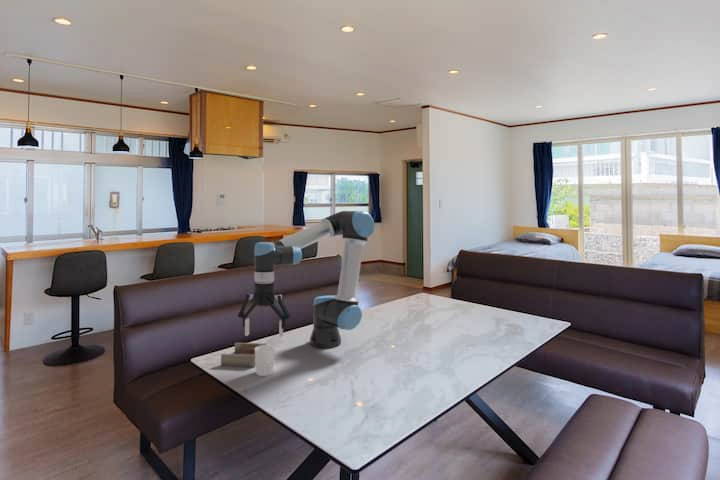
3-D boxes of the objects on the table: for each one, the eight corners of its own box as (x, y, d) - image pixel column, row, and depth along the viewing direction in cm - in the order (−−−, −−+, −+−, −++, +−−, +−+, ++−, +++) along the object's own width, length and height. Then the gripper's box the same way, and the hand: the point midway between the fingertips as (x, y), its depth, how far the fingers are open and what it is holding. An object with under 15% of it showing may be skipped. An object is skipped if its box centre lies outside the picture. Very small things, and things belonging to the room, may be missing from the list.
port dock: (266, 353, 182) (266, 343, 182) (254, 367, 166) (254, 356, 166) (235, 352, 183) (235, 342, 183) (221, 365, 168) (221, 355, 167)
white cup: (254, 377, 156) (254, 352, 155) (254, 369, 164) (254, 345, 163) (275, 375, 158) (275, 350, 158) (274, 368, 166) (274, 344, 165)
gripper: (229, 282, 155) (229, 337, 157) (293, 284, 154) (293, 340, 155) (236, 279, 163) (236, 331, 164) (298, 281, 161) (297, 334, 162)
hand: (264, 335), depth 160 cm, fingers open, 13 cm apart
